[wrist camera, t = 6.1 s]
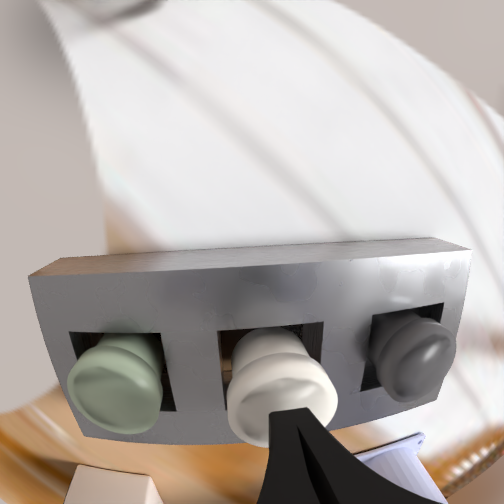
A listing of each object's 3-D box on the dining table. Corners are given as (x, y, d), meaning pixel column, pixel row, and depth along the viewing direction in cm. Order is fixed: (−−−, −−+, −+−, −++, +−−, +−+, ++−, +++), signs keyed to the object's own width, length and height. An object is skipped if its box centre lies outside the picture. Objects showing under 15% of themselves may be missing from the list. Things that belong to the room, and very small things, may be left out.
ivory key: (308, 386, 15) (331, 438, 11) (228, 395, 14) (231, 452, 10) (312, 316, 14) (344, 362, 10) (221, 323, 13) (223, 376, 9)
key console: (411, 373, 19) (436, 399, 15) (99, 401, 17) (84, 436, 13) (434, 237, 16) (472, 249, 13) (60, 257, 14) (27, 276, 11)
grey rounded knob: (409, 355, 16) (443, 390, 12) (350, 368, 16) (378, 411, 12) (420, 293, 15) (464, 320, 11) (358, 302, 15) (396, 337, 11)
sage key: (176, 385, 15) (167, 436, 11) (106, 382, 15) (85, 429, 11) (164, 317, 14) (147, 361, 10) (88, 317, 14) (54, 356, 10)
